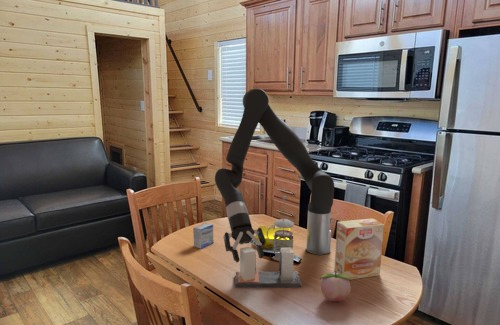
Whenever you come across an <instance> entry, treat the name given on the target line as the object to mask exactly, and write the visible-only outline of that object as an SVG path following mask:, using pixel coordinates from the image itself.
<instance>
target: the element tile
mask: <svg viewBox="0 0 500 325" xmlns="http://www.w3.org/2000/svg"><path fill="white" fill-rule="evenodd" d="M269 227H270V229H269ZM273 227H274V226H272V228H271V225H269V226H266V225H265V226H264V225H259V226H258V227H257V229H258V228H261V229H262V232H263V235H264V237H265V240H266V243H265V244H264V246H262V248H272V249H273V244H274V243H273V242H274V235H275V232H276V231H278V230H283V228H280V227H277V226H275V229H274V228H273ZM268 229H269V231H268ZM284 230H288V231H290V232H292V229H291V227H290V228H284ZM267 231H268V236H267ZM255 237H256V238H257V240H258V241H259V238H258V236H257V235H256V234H255ZM267 237H269V239H270V240H271V241H272V242H271V241H270V240H269V239H267ZM278 238H280V237H277V239H278ZM284 238H286V239H288V238H287V237H284ZM268 240H269V241H270V242H271V243H272V244H271V243H270V242H269V241H268ZM279 240H285V239H279ZM288 240H290V239H288ZM285 241H287V240H285ZM277 244H279V243H277ZM281 245H282V244H281ZM283 246H285V245H283ZM277 247H279V246H277ZM285 247H287V246H285ZM289 247H290V246H289Z"/></svg>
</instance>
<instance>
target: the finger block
mask: <svg viewBox="0 0 500 325" xmlns="http://www.w3.org/2000/svg"><path fill="white" fill-rule="evenodd" d="M256 251H257V250H255V249H254V248H253V247H252V246H246V247H240V248H239V259H240V260H239V272H240V276H241V277H242V278H243V280H244V281H246V280H251V279H255V274H256V272H257V271H256V268H257V264H256V263H257V254H256Z"/></svg>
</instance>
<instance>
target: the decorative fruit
mask: <svg viewBox="0 0 500 325" xmlns="http://www.w3.org/2000/svg"><path fill="white" fill-rule="evenodd" d="M319 279H321V280H320V292H321V294H322V295H323V296H324V297H325V298H326V299H328V300H329V301H331V302H340V301H342V300H345V298H347V297H348V296H349V294H351V293H350V292H351V291H352V290H351V289H352V288H351V283H350V281H352V279H350V278H349V277H348V276H347V275H345V274H340V273H336V271H335V272H334V271H333V272H328V273H325V274H323V275H322V276H320V277H319Z"/></svg>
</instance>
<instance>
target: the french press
mask: <svg viewBox="0 0 500 325" xmlns="http://www.w3.org/2000/svg"><path fill="white" fill-rule="evenodd" d="M281 199H282V200H283V212H285V209H286V208H285V206H286V205H285V204H286V202H285V201H286V200H288V197H287V196H286V195H283V196H282V198H281ZM293 226H295V222H293V221H292V220H290V219H287V218H281V219H277V220H275V221H274V222H273V225H270V227H271V228H272V227H273V228H274V229H275V227H280V228H283V230H278V231H276V232H275V235H274V242H273V243H274V244H273V248H272V252H273V251H274V253H275V252H280V248H292V249H293V250H294V236H293V232H292V231H291V232H290V231H288V230H284V228H290V229H291V228H293ZM270 227H269V229H270ZM269 229H268V231H269ZM268 231H267V236H268ZM277 237H280V238H278V239H277ZM284 237H287V238H288V239H290V240H288V239H286V238H284ZM267 239H269V237H267ZM279 239H285V240H287V241H285V240H279ZM269 240H270V239H269ZM269 240H268V241H269ZM270 241H271V240H270ZM270 241H269V242H270ZM271 242H272V241H271ZM271 242H270V243H271ZM277 243H279V244H277ZM271 244H272V243H271ZM281 244H282V245H281ZM283 245H285V246H287V247H285V246H283ZM277 246H279V247H277ZM289 246H290V247H289ZM279 257H280V253H275V256H273V257H271V258H272V259H273V260H274V261H276V262H277V261H278V262H279Z"/></svg>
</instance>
